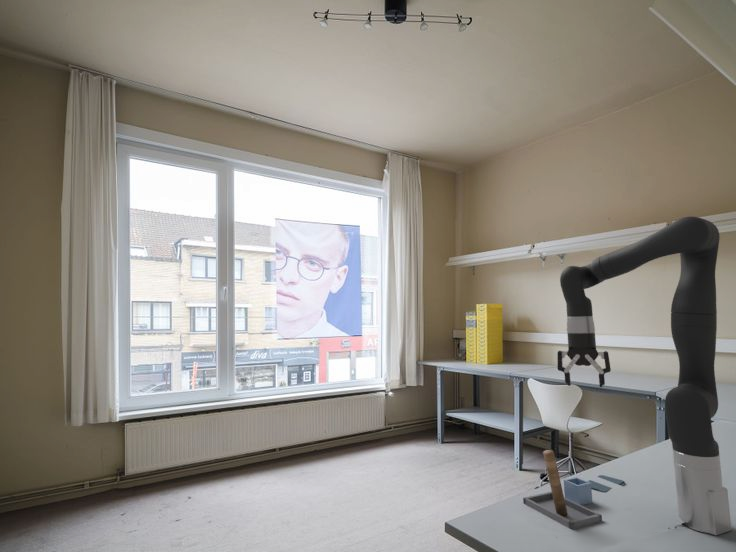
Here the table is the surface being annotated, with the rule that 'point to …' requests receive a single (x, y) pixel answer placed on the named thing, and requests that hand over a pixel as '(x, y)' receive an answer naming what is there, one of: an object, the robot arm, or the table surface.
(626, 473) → the table surface
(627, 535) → the table surface
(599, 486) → the smartphone
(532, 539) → the table surface
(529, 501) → the tray
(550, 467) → the dowel
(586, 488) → the cup
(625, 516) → the table surface
